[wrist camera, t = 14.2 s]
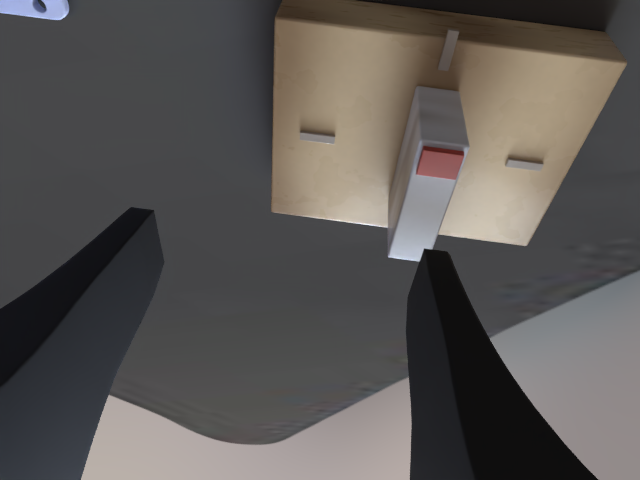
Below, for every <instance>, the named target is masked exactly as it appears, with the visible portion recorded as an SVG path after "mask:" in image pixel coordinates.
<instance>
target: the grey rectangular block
mask: <svg viewBox="0 0 640 480" xmlns="http://www.w3.org/2000/svg"><path fill="white" fill-rule="evenodd" d="M469 148H470V146H469V140H468V135H467V129H466V124H465V118H464V113H463V108H462V102H461V97H460V92H458V91H452V90H445V89H437V88H430V87H423V86H417V87H416V89H415V93H414V97H413V101H412V105H411V109H410V114H409V118H408V122H407V126H406V130H405V134H404V138H403V142H402V146H401V150H400V154H399V158H398V162H397V166H396V170H395V174H394V178H393V182H392V186H391V190H390V194H389V198H388V254H387V255H388V257H391V258H398V259H405V260H413V261H420V259H421V256H422V253H423V250H424V248H425V249H433V246H434V243H435V241H436V238H437V235H438V232H439V230H440V227H441V224H442V221H443V219H444V216H445V213H446V211H447V208H448V205H449V202H450V200H451V197H452V194H453V191H454V189H455V186H456V183H457V180H458V178H459V175H460V172H461V169H462V167H463V164H464V161H465V159H466V156H467V153H468V150H469Z"/></svg>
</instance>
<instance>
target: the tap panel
mask: <svg viewBox="0 0 640 480" xmlns="http://www.w3.org/2000/svg"><path fill="white" fill-rule="evenodd" d="M626 65H627V61H626V59H625V58H624V56H623V55H622V54H621V52H620V51H619V49H618V48H617V47H616V45H615V44H614V42H613V41H612V40H611V38H610V37H609V36H608V34H607V33H606V32H602V31H594V30H586V29H578V28H570V27H562V26H554V25H547V24H539V23H531V22H523V21H515V20H507V19H499V18H491V17H483V16H476V15H468V14H460V13H452V12H444V11H436V10H428V9H420V8H412V7H405V6H397V5H389V4H381V3H373V2H365V1H357V0H282V2H281V4H280V7H279V9H278V11H277V14H276V16H275V18H274V70H273V125H272V180H271V211H272V212H275V213H282V214H290V215H297V216H305V217H313V218H320V219H328V220H335V221H343V222H350V223H358V224H365V225H373V226H380V227H388V198H389V194H390V190H391V186H392V182H393V178H394V174H395V170H396V166H397V162H398V158H399V154H400V150H401V146H402V142H403V138H404V134H405V130H406V126H407V122H408V118H409V114H410V109H411V105H412V101H413V97H414V93H415V89H416V87H417V86H423V87H430V88H437V89H445V90H452V91H458V92H460V97H461V102H462V108H463V113H464V118H465V124H466V129H467V135H468V140H469V146H470V148H469V150H468V153H467V156H466V159H465V161H464V164H463V167H462V169H461V172H460V175H459V178H458V180H457V183H456V186H455V189H454V191H453V194H452V197H451V200H450V202H449V205H448V208H447V211H446V213H445V216H444V219H443V221H442V224H441V227H440V230H439V232H438V234H440V235H448V236H455V237H463V238H470V239H478V240H485V241H493V242H501V243H508V244H516V245H523V246H527V245H528V243H529V241H530V240H531V238H532V236H533V234H534V232H535V231H536V229H537V227H538V225H539V223H540V221H541V220H542V218H543V216H544V214H545V212H546V210H547V209H548V207H549V205H550V203H551V201H552V200H553V198H554V196H555V194H556V192H557V190H558V189H559V187H560V185H561V183H562V181H563V179H564V178H565V176H566V174H567V172H568V170H569V169H570V167H571V165H572V163H573V161H574V159H575V158H576V156H577V154H578V152H579V150H580V148H581V147H582V145H583V143H584V141H585V139H586V137H587V136H588V134H589V132H590V130H591V128H592V127H593V125H594V123H595V121H596V119H597V117H598V116H599V114H600V112H601V110H602V108H603V106H604V105H605V103H606V101H607V99H608V97H609V96H610V94H611V92H612V90H613V88H614V86H615V85H616V83H617V81H618V79H619V77H620V75H621V74H622V72H623V70H624V68H625V66H626Z"/></svg>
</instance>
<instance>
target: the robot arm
mask: <svg viewBox="0 0 640 480" xmlns="http://www.w3.org/2000/svg"><path fill="white" fill-rule="evenodd" d="M41 1H43V2H44V4H45V5H46V9H45V8H43V7H42V6H40V5H39V3H38V0H0V13H6V14H14V15H22V16H30V17H37V18H45V19H53V20H61V19H62V18H64V17H65V16H66V15H67V14H68V12H69V5H68V1H67V0H41ZM163 265H164V258H163V253H162V248H161V244H160V239H159V234H158V229H157V224H156V219H155V214H154V210H148V209H141V208H134V207H131V208H129V209H128V210H127V211H126V212H125V213H123V214H122V215H121V216H120V217H119V218H118V219H116V220H115V221H114V222H113V223H112V224H111V225H110V226H108V227H107V228H106V229H105V230H104V231H103V232H102V233H100V234H99V235H98V236H97V237H96V238H95V239H94V240H92V241H91V242H90V243H89V244H88V245H86V246H85V247H84V248H83V249H82V250H80V251H79V252H78V253H77V254H76V255H74V256H73V257H72V258H71V259H70V260H68V261H67V262H66V263H65V264H63V265H62V266H61V267H59V268H58V269H57V270H55V271H54V272H53V273H51V274H50V275H49V276H47V277H46V278H45V279H43V280H42V281H41V282H40V283H38V284H37V285H35V286H34V287H33V288H31V289H30V290H28V291H27V292H25V293H24V294H23V295H21V296H20V297H18V298H17V299H15V300H13V301H12V302H10V303H9V304H7V305H6V306H4V307H3V308H1V309H0V480H81V477H82V474H83V470H84V467H85V464H86V460H87V457H88V454H89V451H90V447H91V444H92V441H93V438H94V435H95V432H96V429H97V426H98V423H99V420H100V417H101V414H102V411H103V409H104V406H105V403H106V400H107V397H108V395H109V392H110V389H111V386H112V383H113V381H114V378H115V376H116V374H117V371H118V369H119V367H120V364H121V362H122V360H123V358H124V356H125V354H126V352H127V350H128V348H129V346H130V344H131V342H132V340H133V338H134V336H135V333H136V331H137V329H138V327H139V325H140V323H141V321H142V319H143V317H144V315H145V313H146V311H147V308H148V306H149V304H150V302H151V300H152V298H153V296H154V293H155V290H156V287H157V284H158V281H159V278H160V275H161V271H162V268H163ZM406 340H407V355H408V369H409V383H410V397H411V416H412V432H411V433H412V434H411V465H410V480H598V479H597V478H596V477H595V476H594V475H593V474H592V473H591V472H590V471H589V470H588V469H587V468H586V467H585V466H584V465H583V464H582V463H581V462H580V461H579V459H577V457H576V456H575V455H574V454H573V453H572V451H571V450H570V449H569V448H568V447H567V446H566V445H565V444H564V443H563V441H562V440H561V439H560V438H559V436H558V435H557V434H556V433H555V432H554V430H553V429H552V428H551V427H550V425H549V424H548V423H547V422H546V420H545V419H544V418H543V417H542V416H541V414H540V413H539V412H538V411H537V410H536V408H535V407H534V406H533V404H532V403H531V401H530V400H529V399H528V397H527V396H526V395H525V393H524V392H523V391H522V389H521V388H520V386H519V385H518V383H517V382H516V381H515V379H514V378H513V376H512V375H511V373H510V372H509V370H508V369H507V367H506V366H505V364H504V363H503V361H502V359H501V358H500V356H499V354H498V353H497V351H496V349H495V348H494V346H493V344H492V342H491V341H490V339H489V337H488V335H487V334H486V332H485V330H484V328H483V326H482V324H481V322H480V320H479V319H478V317H477V315H476V313H475V311H474V309H473V307H472V305H471V303H470V301H469V299H468V296H467V294H466V292H465V290H464V288H463V285H462V283H461V281H460V279H459V276H458V274H457V271H456V269H455V266H454V264H453V261H452V259H451V256H450V254H449V253H448V252H446V251H439V250H432V249H425V248H424V250H423V253H422V256H421V259H420V262H419V265H418V268H417V271H416V274H415V277H414V280H413V283H412V286H411V289H410V292H409V295H408V302H407V321H406Z"/></svg>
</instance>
